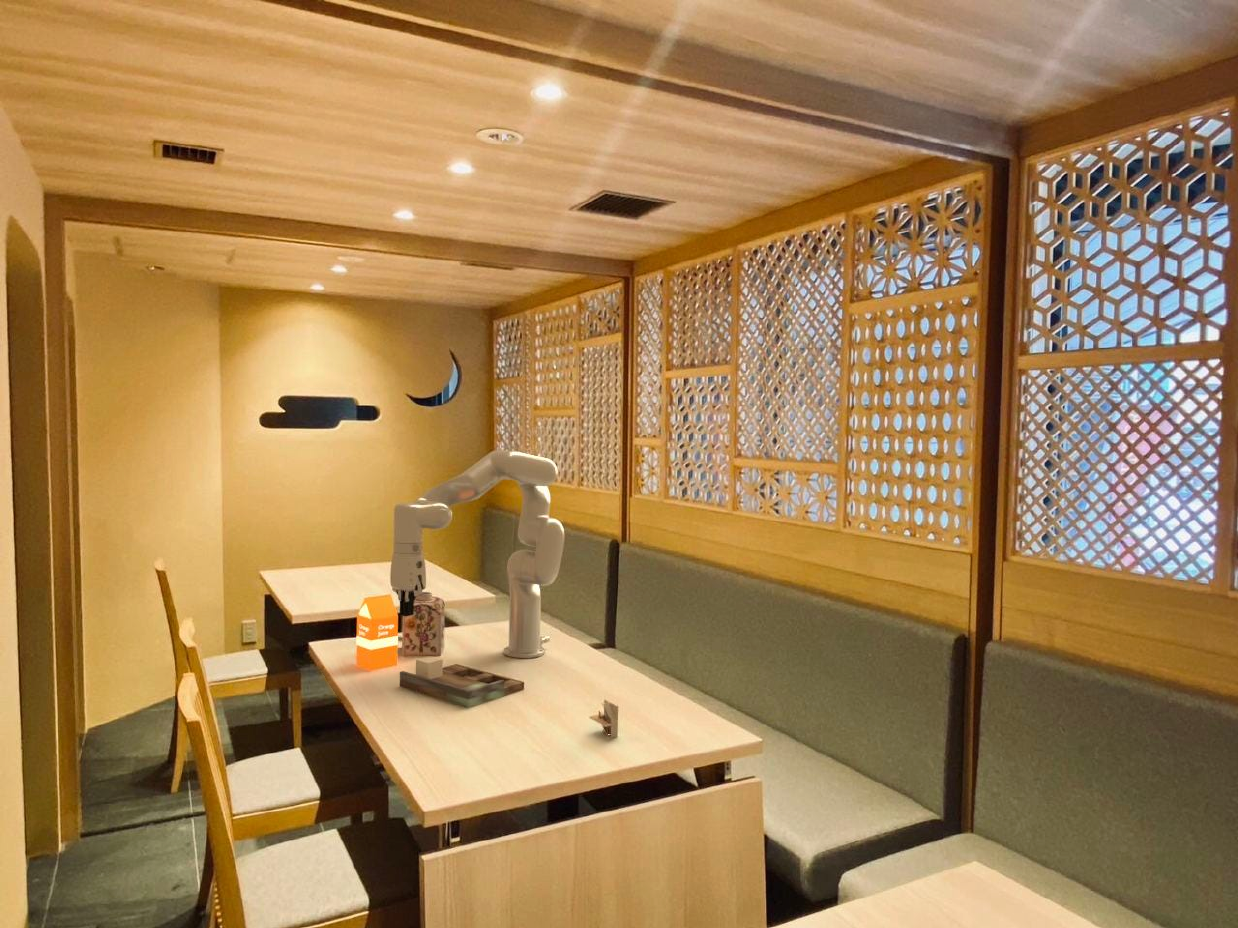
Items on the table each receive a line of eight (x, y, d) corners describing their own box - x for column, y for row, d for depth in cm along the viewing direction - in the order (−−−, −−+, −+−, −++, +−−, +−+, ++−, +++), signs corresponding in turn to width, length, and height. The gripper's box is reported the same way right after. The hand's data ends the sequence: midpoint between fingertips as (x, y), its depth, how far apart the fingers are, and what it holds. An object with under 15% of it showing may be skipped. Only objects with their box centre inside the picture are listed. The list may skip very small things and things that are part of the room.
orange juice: (397, 665, 253) (398, 596, 252) (370, 671, 246) (371, 600, 245) (382, 659, 258) (383, 592, 257) (355, 665, 252) (356, 595, 251)
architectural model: (605, 741, 198) (606, 708, 197) (589, 732, 203) (589, 700, 203) (618, 738, 200) (618, 706, 199) (601, 729, 205) (602, 698, 205)
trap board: (456, 670, 248) (456, 656, 248) (524, 689, 233) (524, 674, 233) (399, 686, 232) (399, 671, 232) (468, 707, 217) (468, 691, 217)
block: (429, 672, 239) (430, 656, 239) (442, 675, 236) (442, 659, 236) (415, 676, 235) (415, 659, 235) (428, 679, 232) (428, 663, 232)
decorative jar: (406, 646, 274) (407, 589, 273) (444, 646, 275) (445, 589, 274) (401, 656, 262) (402, 596, 261) (441, 656, 263) (442, 596, 262)
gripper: (437, 550, 239) (435, 617, 239) (400, 544, 248) (399, 609, 248) (415, 552, 233) (414, 621, 233) (378, 546, 242) (377, 613, 242)
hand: (406, 614), depth 241 cm, fingers closed
